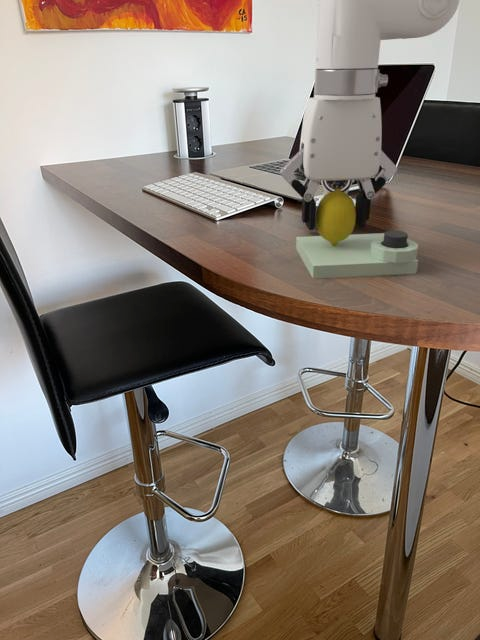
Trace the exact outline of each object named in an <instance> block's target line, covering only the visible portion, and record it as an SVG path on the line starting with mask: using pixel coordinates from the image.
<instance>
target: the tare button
mask: <svg viewBox="0 0 480 640" xmlns="http://www.w3.org/2000/svg"><path fill="white" fill-rule="evenodd" d="M383 233H384V241H383V246H385V247H388V248H405V247H406V245H407V239H408V236H409V235H408V233H407V232H405V231H401V230H387V231H385V232H383Z"/></svg>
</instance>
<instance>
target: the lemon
mask: <svg viewBox="0 0 480 640" xmlns="http://www.w3.org/2000/svg"><path fill="white" fill-rule="evenodd" d="M317 206H318V208H317V211H316V227H317V230H318V231H317V233H318V234H319V236H322V237H323V238H324V239H325V240H328V241H329V242H330V243H331V244H332V245H336V244H337V243H338V242H339V241H342V240H344V239H346V238H347V237H348V236H349V235H352V234H353V231H354V228H355V225H356V223H355V221H356V209H355V201H354V200H353V198H352V197H351V196H350V195H349V194H346V193H344V192H342V191H341V190H340V189H335V190H334V191H333V192H330V193H328V194H326V195H325V196H323V197H322V198H321V199H320V201H319V203H318V205H317Z"/></svg>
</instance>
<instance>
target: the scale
mask: <svg viewBox="0 0 480 640" xmlns="http://www.w3.org/2000/svg"><path fill="white" fill-rule="evenodd" d="M384 233H385V232H381V233H359V234H357V233H356V234H350V235H349V236H348V237H347V238H346V239H344V240H342V241H339V242H338V243H337V244H336V245H332V244H331V243H330V242H329V241H328V240H325V239H324V238H323V237H322V236H321V235H314V236H313V235H311V236H309V235H308V236H296V237H295V238H296V239H295V249H296V251H297V253H298V255H299V257H300V258H301V260H302V262H303V264H304V266H305V267H306V269H307V272H308V273H309V274H310V276H311V278H312V279H313V280H315V279H336V278H355V277H378V276H395V275H396V276H398V275H415V274H417V273H418V265H419V260H418V259H417V256H418V252H419V251H418V250H419V244H418V243H416V242H415V241H414V240H413V239H408V238H407V245H406V247H405V248H388V247H385V246H383V241H384Z"/></svg>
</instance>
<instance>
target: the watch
mask: <svg viewBox="0 0 480 640" xmlns="http://www.w3.org/2000/svg"><path fill="white" fill-rule="evenodd" d="M355 181H356V180H335V181H321V182H320V184H321V187H322V188H323V194H322V196H323V197H324V196H325V195H326V194H328V193H330V192H333V191H334V190H335V189H340V190H341V191H342V192H344V193H346V194H348V193H349V190H350V188H351V187H352V185H353V184H354V183H355ZM348 195H349V194H348ZM317 208H318V205H316V211H317ZM314 230H315V231H316V232H318V230H317V227H316V215H315V229H314Z"/></svg>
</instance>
